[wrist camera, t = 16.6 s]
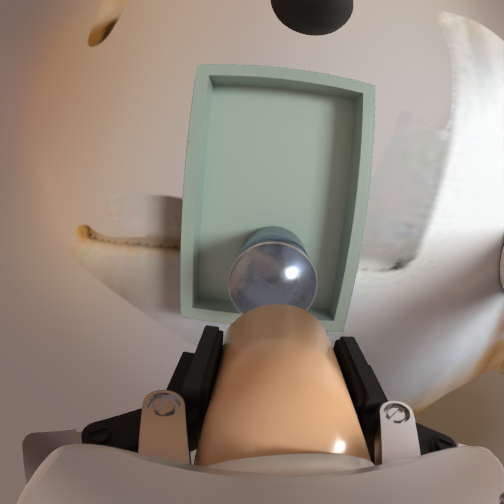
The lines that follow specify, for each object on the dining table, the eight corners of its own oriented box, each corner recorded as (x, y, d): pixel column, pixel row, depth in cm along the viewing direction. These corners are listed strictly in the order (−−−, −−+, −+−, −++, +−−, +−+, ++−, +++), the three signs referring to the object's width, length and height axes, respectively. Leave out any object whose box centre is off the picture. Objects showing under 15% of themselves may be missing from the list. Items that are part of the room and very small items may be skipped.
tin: (314, 234, 26) (328, 254, 19) (296, 296, 28) (302, 332, 21) (247, 218, 26) (238, 232, 19) (233, 282, 28) (220, 314, 21)
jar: (341, 306, 11) (423, 464, 3) (317, 392, 12) (344, 532, 4) (223, 296, 11) (164, 471, 3) (219, 385, 12) (188, 530, 5)
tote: (363, 95, 23) (375, 85, 20) (335, 316, 29) (342, 331, 26) (205, 77, 23) (197, 64, 20) (189, 302, 30) (180, 316, 26)
